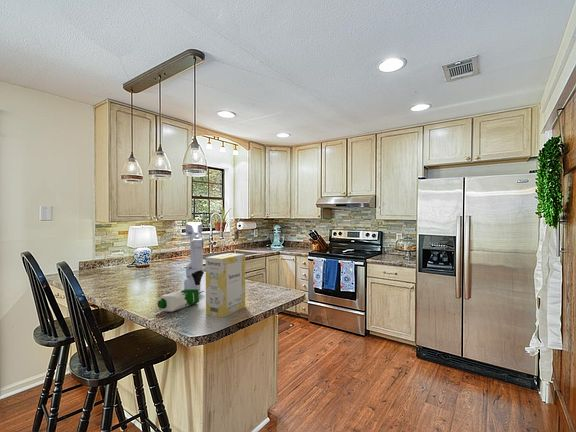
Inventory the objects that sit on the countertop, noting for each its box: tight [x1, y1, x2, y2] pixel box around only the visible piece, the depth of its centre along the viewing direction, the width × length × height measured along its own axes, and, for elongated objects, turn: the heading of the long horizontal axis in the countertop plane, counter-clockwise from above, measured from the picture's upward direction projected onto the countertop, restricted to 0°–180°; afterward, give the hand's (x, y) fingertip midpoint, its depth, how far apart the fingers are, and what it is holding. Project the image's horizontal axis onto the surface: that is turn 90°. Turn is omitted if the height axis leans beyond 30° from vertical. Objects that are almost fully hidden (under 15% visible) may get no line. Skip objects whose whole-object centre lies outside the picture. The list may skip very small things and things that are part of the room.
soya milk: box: [157, 289, 200, 312], centre depth 155 cm, size 9×9×20 cm
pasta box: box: [205, 252, 246, 318], centre depth 151 cm, size 18×10×28 cm, turn 152°
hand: (197, 284), depth 164 cm, fingers closed
